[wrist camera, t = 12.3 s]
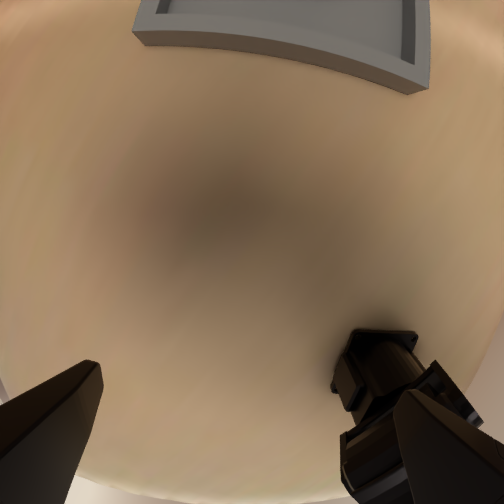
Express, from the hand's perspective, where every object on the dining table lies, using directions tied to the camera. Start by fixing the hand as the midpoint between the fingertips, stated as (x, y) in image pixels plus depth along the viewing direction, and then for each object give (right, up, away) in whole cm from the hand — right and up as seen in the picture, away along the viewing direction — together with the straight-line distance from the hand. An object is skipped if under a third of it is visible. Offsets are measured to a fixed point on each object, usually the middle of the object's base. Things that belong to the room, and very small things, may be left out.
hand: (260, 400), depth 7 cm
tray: (+3, +25, +6) cm, 26 cm away
